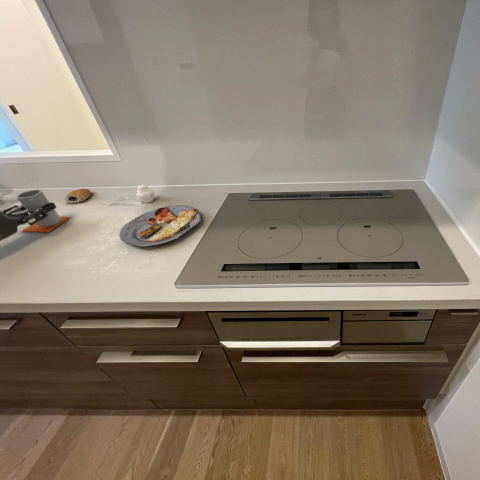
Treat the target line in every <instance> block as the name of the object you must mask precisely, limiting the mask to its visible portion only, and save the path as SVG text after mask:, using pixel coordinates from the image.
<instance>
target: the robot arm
mask: <svg viewBox="0 0 480 480" xmlns="http://www.w3.org/2000/svg"><path fill="white" fill-rule="evenodd" d="M49 202H50V201H49ZM53 209H55V210H56V209H57V205H56V204H55V203H54V202H50V203H48V204H46V205H44V206H42V207H39V208H36V209H33V210H32V209H27V210H26V209H25V208H24V206H23V205H22V204H20V205H18V204H17V205H13V206H10V207H8V208H4V209H2V210H0V242H1V241H3V240H5V239H7V238H9V237H11V236H13V235H15V234H17V233H18V227H19V226H22V225H26V224H28V225H29V226H30V225H33V224H35V223H37V222H39V221H40V220H42V219H44V218H46V217H48V216H49V215H48V214H47V212H49V211H51V210H53ZM36 211H37V212H36ZM28 212H29V213H31V215H30V214H29V213H28ZM34 212H35V213H34ZM40 216H41V217H40Z"/></svg>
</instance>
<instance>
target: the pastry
mask: <svg viewBox="0 0 480 480" xmlns="http://www.w3.org/2000/svg"><path fill="white" fill-rule="evenodd" d="M91 195H92V192H91V190H90V189H89V188H80V189H76V190H72V191H70V192H68V193H66V196H65V199H64V200H65V202H66V203H68V204H75V203H82V202H84V201H86V200H87V199H89V197H90V196H91Z"/></svg>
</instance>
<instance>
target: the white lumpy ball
mask: <svg viewBox="0 0 480 480" xmlns="http://www.w3.org/2000/svg"><path fill="white" fill-rule="evenodd" d="M135 196H136V197H137V198H138V199H139V200H141V201H142V202H143V203H145V204H147V203H152V202H153V201H154V197H155V190H154V189H152V188H150V187H149V186H148V185H147V184H140V185H138V186H137V191H136V194H135Z"/></svg>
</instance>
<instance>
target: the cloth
mask: <svg viewBox="0 0 480 480" xmlns="http://www.w3.org/2000/svg"><path fill="white" fill-rule="evenodd" d="M60 218H61V221H60V222H58V223H56V224H54V225H51V226H47V227H40V226H39V225H38V224H37V223H35V224H33V225H29V226H27V227H25V228H23V229H22V230H21V231H22V232H23V233H49V232H51V231H52V230H53V229H55V228H56V227H58V226H59V225H61V224H62V223H64V222H66V221H67V220H68V219H70V217H69V216H60Z"/></svg>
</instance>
